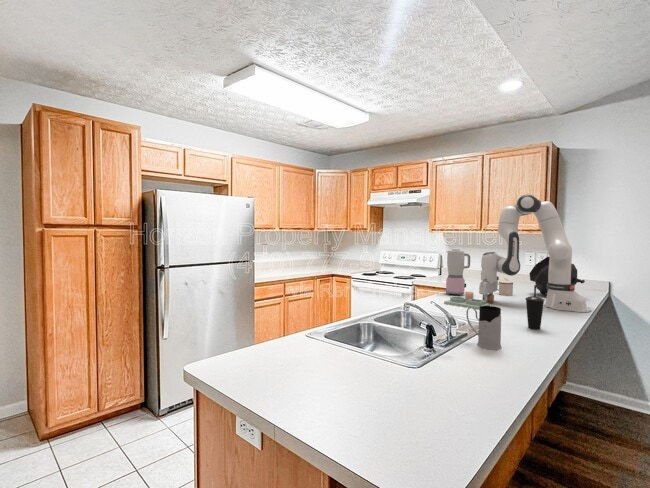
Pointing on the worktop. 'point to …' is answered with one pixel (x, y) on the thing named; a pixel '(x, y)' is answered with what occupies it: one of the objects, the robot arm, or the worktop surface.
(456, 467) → the worktop surface
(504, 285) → the teacup with lid
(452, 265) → the blender
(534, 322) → the drinking cup
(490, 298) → the square piece
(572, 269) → the wok
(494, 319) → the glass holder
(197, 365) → the worktop surface
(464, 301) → the shape board
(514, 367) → the worktop surface
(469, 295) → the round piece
